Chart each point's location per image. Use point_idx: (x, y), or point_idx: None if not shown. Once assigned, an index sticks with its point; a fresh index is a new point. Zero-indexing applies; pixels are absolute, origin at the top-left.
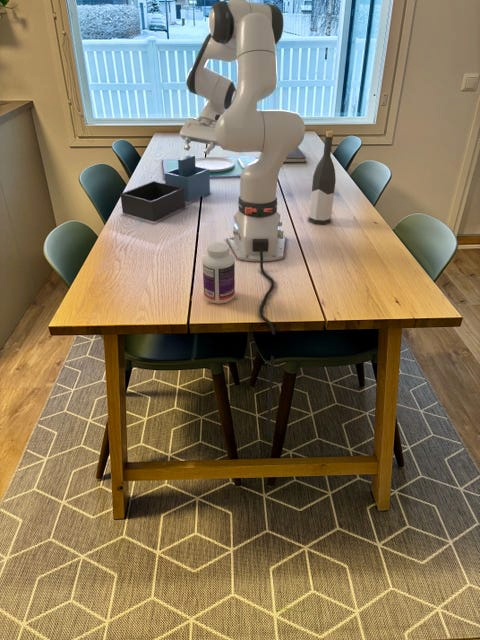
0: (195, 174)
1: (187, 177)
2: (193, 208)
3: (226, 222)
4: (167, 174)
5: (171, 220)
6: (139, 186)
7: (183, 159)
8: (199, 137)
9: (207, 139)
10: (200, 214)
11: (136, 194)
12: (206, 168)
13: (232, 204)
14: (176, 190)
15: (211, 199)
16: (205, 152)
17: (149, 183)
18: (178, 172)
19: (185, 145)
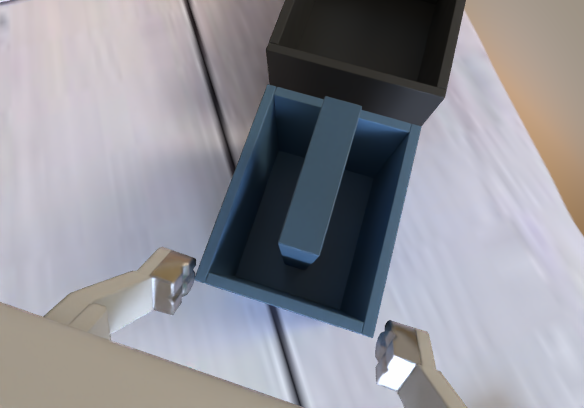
0: (245, 148)
1: (270, 91)
2: (244, 113)
3: (106, 37)
4: (398, 122)
5: (279, 9)
6: (460, 16)
7: (324, 116)
8: (249, 398)
9: (112, 344)
10: (204, 72)
11: (446, 11)
12: (214, 280)
13: (109, 190)
14: (286, 14)
15: (203, 218)
16: (177, 253)
17: (442, 61)
18: (379, 231)
19: (425, 351)
